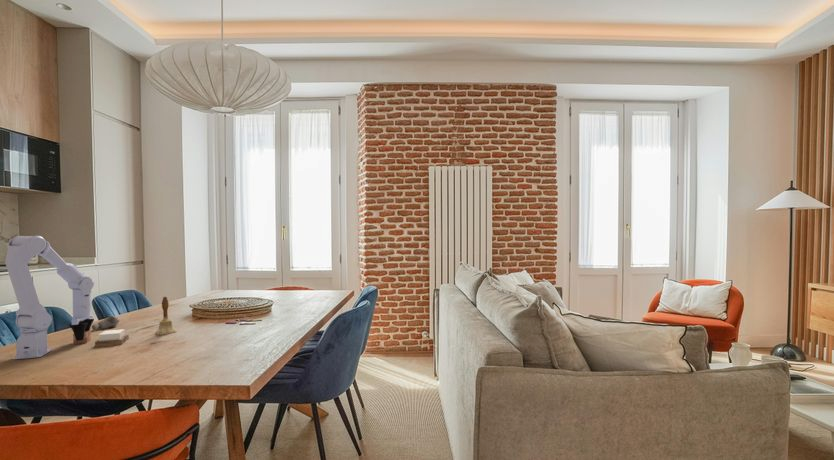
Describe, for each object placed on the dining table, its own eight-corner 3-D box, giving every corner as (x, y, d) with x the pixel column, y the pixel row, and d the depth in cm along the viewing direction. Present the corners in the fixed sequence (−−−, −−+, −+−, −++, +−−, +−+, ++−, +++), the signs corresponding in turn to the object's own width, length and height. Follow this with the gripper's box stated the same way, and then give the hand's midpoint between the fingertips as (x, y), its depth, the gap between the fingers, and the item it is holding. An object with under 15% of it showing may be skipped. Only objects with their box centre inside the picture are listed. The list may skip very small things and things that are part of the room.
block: (86, 343, 170) (86, 333, 170) (73, 344, 169) (73, 334, 169) (90, 340, 175) (90, 330, 175) (77, 341, 173) (77, 331, 173)
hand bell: (174, 333, 184) (174, 297, 184) (152, 335, 181) (152, 298, 181) (177, 329, 192) (177, 294, 192) (156, 331, 189) (156, 296, 189)
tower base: (122, 345, 168) (122, 339, 168) (95, 348, 165) (94, 342, 164) (128, 340, 176) (128, 334, 176) (103, 342, 173) (102, 336, 173)
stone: (93, 333, 190) (107, 321, 191) (87, 324, 191) (101, 312, 192) (109, 334, 199) (123, 322, 201) (104, 325, 201) (117, 313, 202)
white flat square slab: (119, 339, 168) (119, 333, 168) (98, 341, 166) (98, 334, 166) (124, 335, 175) (124, 329, 175) (104, 336, 172) (104, 330, 172)
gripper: (86, 307, 166) (87, 342, 166) (99, 302, 180) (100, 333, 180) (64, 309, 164) (65, 343, 164) (79, 303, 177) (80, 335, 177)
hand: (82, 338), depth 172 cm, fingers closed on block, 4 cm apart
